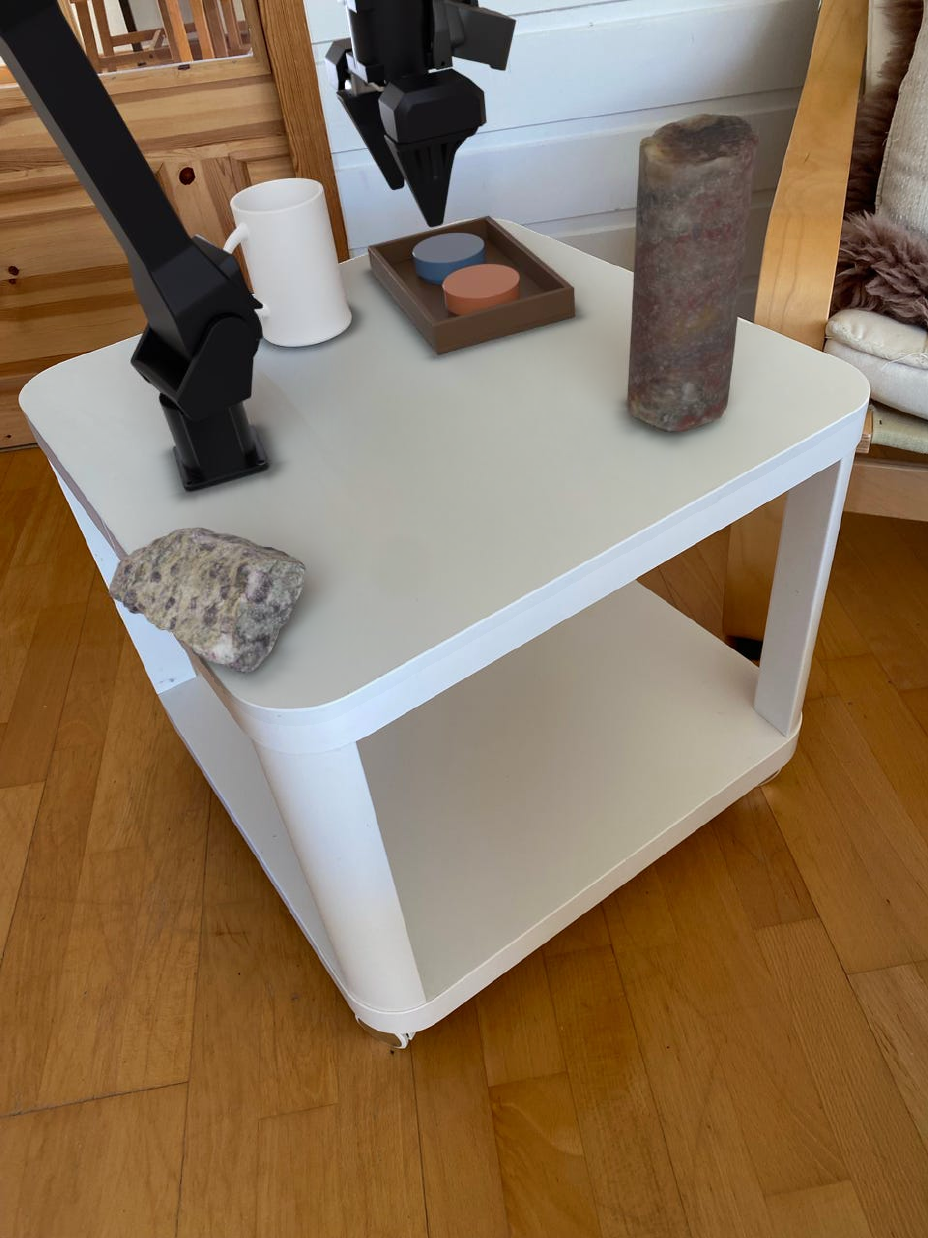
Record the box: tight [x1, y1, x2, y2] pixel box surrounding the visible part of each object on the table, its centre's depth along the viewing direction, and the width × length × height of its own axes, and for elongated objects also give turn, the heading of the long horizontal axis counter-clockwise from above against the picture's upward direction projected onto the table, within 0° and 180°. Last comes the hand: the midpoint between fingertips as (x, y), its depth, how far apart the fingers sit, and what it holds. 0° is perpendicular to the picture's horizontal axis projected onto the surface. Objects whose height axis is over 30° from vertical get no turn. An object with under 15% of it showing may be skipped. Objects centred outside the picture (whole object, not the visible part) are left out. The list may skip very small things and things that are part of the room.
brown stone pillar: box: [626, 113, 760, 433], centre depth 64 cm, size 8×7×20 cm
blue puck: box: [413, 233, 486, 284], centre depth 92 cm, size 7×7×2 cm
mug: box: [222, 177, 353, 348], centre depth 84 cm, size 12×8×12 cm
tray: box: [366, 215, 576, 356], centre depth 89 cm, size 20×13×3 cm, turn 21°
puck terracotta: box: [443, 264, 521, 317], centre depth 86 cm, size 7×7×2 cm
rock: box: [108, 527, 307, 674], centre depth 58 cm, size 13×6×10 cm
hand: (415, 206), depth 72 cm, fingers open, 9 cm apart
